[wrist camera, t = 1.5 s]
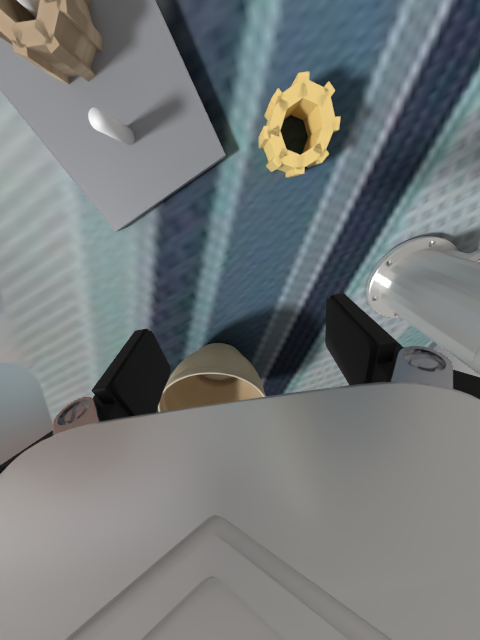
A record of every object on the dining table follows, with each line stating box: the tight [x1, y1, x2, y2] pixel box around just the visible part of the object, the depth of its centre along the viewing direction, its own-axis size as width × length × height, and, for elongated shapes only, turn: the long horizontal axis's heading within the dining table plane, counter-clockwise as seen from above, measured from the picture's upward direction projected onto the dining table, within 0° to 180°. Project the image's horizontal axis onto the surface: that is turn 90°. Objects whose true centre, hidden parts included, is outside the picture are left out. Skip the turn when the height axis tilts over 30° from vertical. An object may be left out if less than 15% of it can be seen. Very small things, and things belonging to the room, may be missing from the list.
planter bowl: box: [158, 343, 266, 412], centre depth 35 cm, size 16×16×11 cm
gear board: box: [0, 0, 226, 232], centre depth 17 cm, size 16×20×7 cm
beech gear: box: [0, 0, 103, 84], centre depth 15 cm, size 7×7×4 cm
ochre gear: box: [259, 72, 341, 177], centre depth 21 cm, size 7×7×4 cm
